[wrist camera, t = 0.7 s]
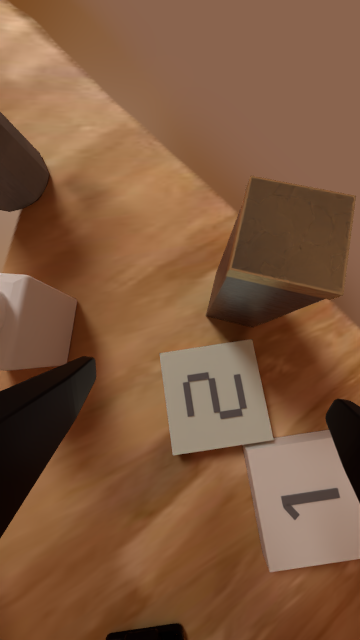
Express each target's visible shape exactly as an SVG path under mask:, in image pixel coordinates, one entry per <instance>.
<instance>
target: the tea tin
mask: <svg viewBox="0 0 360 640" xmlns="http://www.w3.org/2000/svg"><path fill="white" fill-rule="evenodd" d="M355 200H356V196H354V195H349V194H344V193H339V192H333V191H328V190H323V189H318V188H313V187H307V186H302V185H297V184H292V183H287V182H281V181H276V180H271V179H266V178H260V177H255V176H250V179H249V181H248V184H247V187H246V191H245V195H244V199H243V203H242V206H241V209H240V211H239V214H238V217H237V219H236V222H235V225H234V227H233V230H232V233H231V235H230V238H229V240H228V243H227V246H226V248H225V251H224V254H223V256H222V259H221V262H220V264H219V267H218V270H217V272H216V276H215V280H214V284H213V289H212V293H211V297H210V301H209V305H208V310H207V314H206V316H208V317H212V318H216V319H220V320H224V321H228V322H232V323H236V324H241V325H245V326H249V327H255V326H258V325H260V324H263V323H265V322H268V321H270V320H273V319H275V318H278V317H280V316H283V315H286V314H288V313H291V312H293V311H296V310H298V309H301V308H303V307H306V306H308V305H311V304H314V303H316V302H319V301H321V300H324V299H328V300H332V299H334V298H337V297H340V296H342V295H343V292H344V285H345V277H346V269H347V262H348V254H349V246H350V238H351V230H352V223H353V215H354V206H355Z"/></svg>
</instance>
